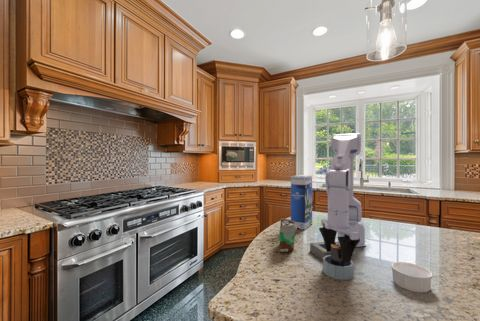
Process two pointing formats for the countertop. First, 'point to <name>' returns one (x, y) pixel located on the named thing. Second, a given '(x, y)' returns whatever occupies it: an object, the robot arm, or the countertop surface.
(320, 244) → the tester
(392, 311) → the countertop surface
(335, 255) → the battery cell
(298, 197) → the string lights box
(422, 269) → the ramekin
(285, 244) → the food container
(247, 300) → the countertop surface
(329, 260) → the grey round bowl
